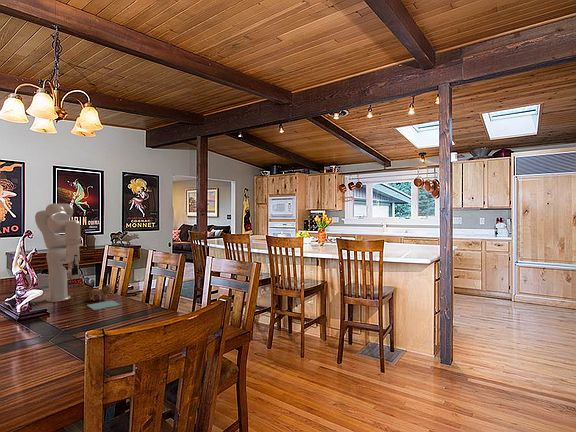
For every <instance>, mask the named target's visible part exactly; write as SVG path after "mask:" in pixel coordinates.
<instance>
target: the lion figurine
mask: <svg viewBox="0 0 576 432" xmlns="http://www.w3.org/2000/svg"><path fill="white" fill-rule="evenodd" d="M112 291H113V285H111V284H107V285H105V286H104V287H102V288H101V289H96V288H93V289H92V290H90V292H89V295H88V297H87V298H86V300H88V301H89V299H90V300H92V301H94V302H95V301H96V299H95V296H96V295H97V296H102V299H103V301H107V297H106V296H107V295H109V294H110V293H111V292H112Z"/></svg>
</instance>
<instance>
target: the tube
mask: <svg viewBox="0 0 576 432" xmlns="http://www.w3.org/2000/svg"><path fill="white" fill-rule="evenodd" d="M73 262H75V261H73ZM67 267H68V268H67V269H68V271H67V279H77V278H79V277H80V273H79V271H80V270H79V264H78V275H72V262H71V263H67Z"/></svg>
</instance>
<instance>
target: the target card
mask: <svg viewBox="0 0 576 432" xmlns="http://www.w3.org/2000/svg"><path fill="white" fill-rule="evenodd" d="M86 306H87V307H88V308H90V309H91V310H93V311H98V310H103V309H109V308H113V307H118V306H121V303H118V302H116V301H114V300H105V301H101V302H95V303H90V304H86Z"/></svg>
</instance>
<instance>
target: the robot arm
mask: <svg viewBox="0 0 576 432" xmlns="http://www.w3.org/2000/svg"><path fill="white" fill-rule="evenodd" d="M73 214H74V207H73V206H72V205H71V204H70V203H49V204H48V205H47V206H46V208H45V210H44V209H43V210H40V211H37V212H36V213H35V215H34V220H35V224H36V227H37V228H38V230H39V231H40V233H41V235H42V236H43V237H42V238H43V241H44V245H45V247H46V248H47V250H49V251H47V253H46V262H47V266H48V267H47V268H48V297H47V298H46V300H45V301H46V302H48V303H55V302H56V303H57V302H62V301H68V300H70V299H71V295H68V271H67V268H66V267H65V266H63V265H65V264H68V263H71V262H72V275H78V265H79V262H80V261H81V260H80V259H81V258H80V257H81V256H80V246H81V243H82V242H81V241H82V240H81V238H82V237H81V223H80V221H79V220H73V219H71V218H72V216H73ZM73 261H75V262H73Z"/></svg>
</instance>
